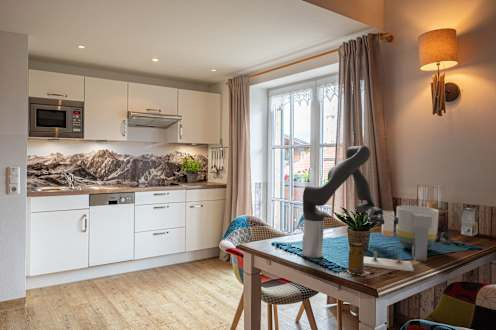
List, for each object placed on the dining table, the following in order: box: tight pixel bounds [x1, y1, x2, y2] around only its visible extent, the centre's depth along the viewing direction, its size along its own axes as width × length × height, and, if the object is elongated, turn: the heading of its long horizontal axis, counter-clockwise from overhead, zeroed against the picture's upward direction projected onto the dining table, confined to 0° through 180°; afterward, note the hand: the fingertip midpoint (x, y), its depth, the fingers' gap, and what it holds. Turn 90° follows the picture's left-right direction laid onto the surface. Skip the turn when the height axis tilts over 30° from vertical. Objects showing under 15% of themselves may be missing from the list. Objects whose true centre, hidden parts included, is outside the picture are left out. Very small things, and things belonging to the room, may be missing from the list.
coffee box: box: [460, 207, 480, 237], centre depth 218 cm, size 9×6×16 cm
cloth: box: [434, 231, 463, 248], centre depth 196 cm, size 22×19×6 cm
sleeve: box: [381, 210, 395, 237], centre depth 162 cm, size 5×5×11 cm
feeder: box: [411, 213, 432, 262], centre depth 165 cm, size 7×9×21 cm
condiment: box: [347, 241, 371, 277], centre depth 143 cm, size 7×8×12 cm
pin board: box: [363, 251, 415, 272], centre depth 154 cm, size 20×10×5 cm, turn 74°
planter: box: [395, 205, 440, 251], centre depth 180 cm, size 20×20×21 cm
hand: (390, 222), depth 160 cm, fingers closed on sleeve, 5 cm apart
